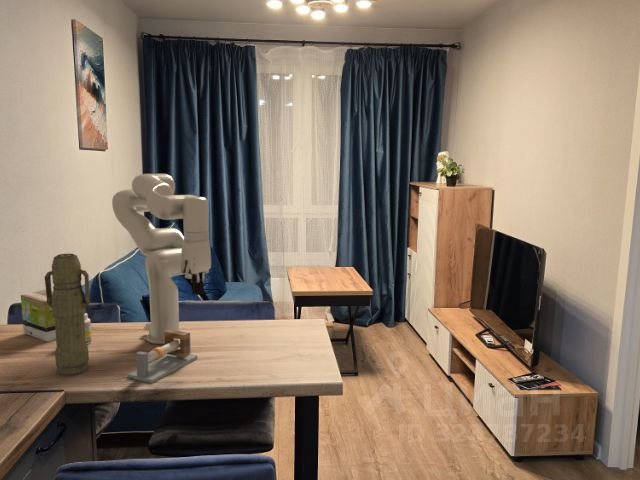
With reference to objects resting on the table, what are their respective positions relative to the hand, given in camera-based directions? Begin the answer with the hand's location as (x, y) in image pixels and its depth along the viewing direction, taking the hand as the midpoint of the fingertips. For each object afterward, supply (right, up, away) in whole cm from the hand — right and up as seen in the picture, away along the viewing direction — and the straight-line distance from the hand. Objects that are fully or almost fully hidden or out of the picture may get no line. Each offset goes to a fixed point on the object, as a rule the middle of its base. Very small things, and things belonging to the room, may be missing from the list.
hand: (197, 293), depth 166 cm
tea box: (-58, -17, +21) cm, 65 cm away
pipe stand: (-8, -22, -6) cm, 24 cm away
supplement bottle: (-42, -18, +13) cm, 48 cm away
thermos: (-35, -22, -9) cm, 43 cm away
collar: (-6, -19, -1) cm, 20 cm away
